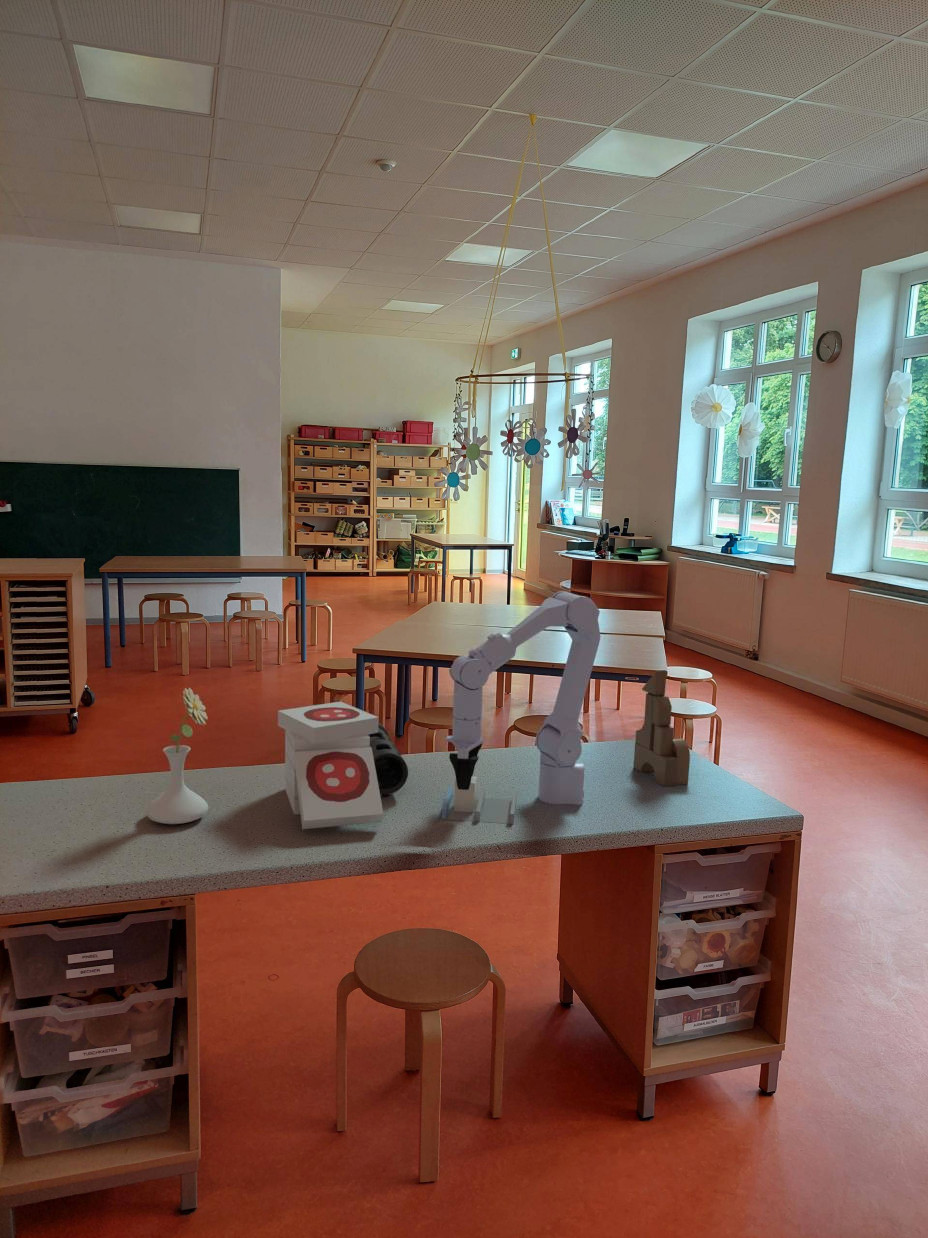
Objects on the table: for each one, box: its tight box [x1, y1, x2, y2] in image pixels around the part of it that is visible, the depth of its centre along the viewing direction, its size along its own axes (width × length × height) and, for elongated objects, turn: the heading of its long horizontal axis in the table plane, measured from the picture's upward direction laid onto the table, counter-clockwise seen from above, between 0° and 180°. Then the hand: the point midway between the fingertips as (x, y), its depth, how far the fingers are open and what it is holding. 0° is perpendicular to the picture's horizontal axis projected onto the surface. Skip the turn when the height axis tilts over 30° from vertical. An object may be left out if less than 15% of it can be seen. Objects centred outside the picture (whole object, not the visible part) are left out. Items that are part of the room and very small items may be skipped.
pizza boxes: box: [277, 701, 384, 830], centre depth 177 cm, size 19×30×18 cm, turn 18°
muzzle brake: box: [368, 721, 409, 799], centre depth 196 cm, size 10×28×10 cm, turn 16°
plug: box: [453, 776, 478, 812], centre depth 177 cm, size 4×4×8 cm
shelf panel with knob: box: [441, 785, 518, 825], centre depth 177 cm, size 14×13×3 cm
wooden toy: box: [633, 669, 691, 787], centre depth 204 cm, size 16×7×25 cm, turn 19°
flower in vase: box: [145, 687, 209, 825], centre depth 169 cm, size 13×11×25 cm
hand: (465, 782), depth 177 cm, fingers open, 7 cm apart
